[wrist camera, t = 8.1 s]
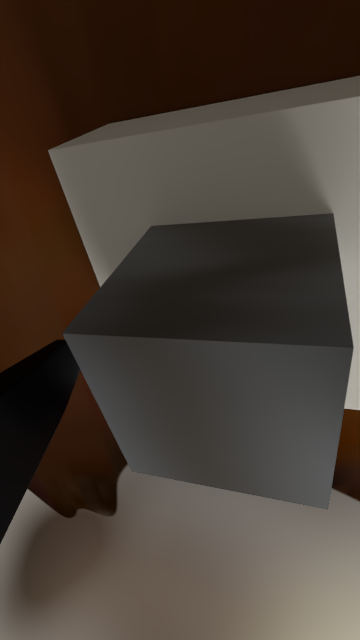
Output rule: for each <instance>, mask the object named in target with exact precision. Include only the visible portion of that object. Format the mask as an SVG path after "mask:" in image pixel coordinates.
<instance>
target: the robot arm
mask: <svg viewBox="0 0 360 640" xmlns="http://www.w3.org/2000/svg"><path fill="white" fill-rule="evenodd" d="M79 372H80V368H79V366H78V364H77V362H76V360H75V358H74V356H73V354H72V352H71V350H70V348H69V346H68V344H67V342H66V340H56V341H54V342H52V343H50V344H49V345H47V346H45V347H44V348H42V349H40V350H38V351H37V352H35V353H33V354H32V355H30V356H28V357H27V358H25V359H23V360H21V361H20V362H18V363H16V364H15V365H13V366H11V367H9V368H8V369H6V370H4V371H3V372H1V373H0V544H1V541H2V539H3V537H4V535H5V533H6V531H7V529H8V527H9V525H10V523H11V521H12V519H13V517H14V515H15V513H16V511H17V509H18V506H19V504H20V502H21V500H22V498H23V496H24V494H25V492H26V490H27V488H28V486H29V484H30V482H31V480H32V478H33V476H34V474H35V472H36V470H37V467H38V465H39V463H40V461H41V459H42V457H43V455H44V453H45V451H46V449H47V447H48V445H49V443H50V441H51V439H52V437H53V435H54V433H55V431H56V428H57V426H58V424H59V422H60V420H61V418H62V416H63V414H64V411H65V409H66V406H67V404H68V401H69V398H70V396H71V393H72V390H73V388H74V385H75V382H76V380H77V377H78V374H79Z"/></svg>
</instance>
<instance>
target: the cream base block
mask: <svg viewBox="0 0 360 640" xmlns="http://www.w3.org/2000/svg"><path fill="white" fill-rule="evenodd" d="M48 152H49V155H50V157H51V160H52V162H53V165H54V168H55V170H56V173H57V175H58V178H59V181H60V183H61V186H62V188H63V191H64V194H65V196H66V199H67V202H68V204H69V207H70V209H71V212H72V215H73V217H74V220H75V222H76V225H77V228H78V230H79V233H80V235H81V238H82V241H83V243H84V246H85V248H86V251H87V254H88V256H89V259H90V262H91V264H92V267H93V269H94V272H95V275H96V277H97V280H98V282H99V285H100V287H101V286H102V285H103V284H104V282H105V281H106V280H107V279H108V278H109V276H110V275H111V274H112V273H113V271H114V270H115V269H116V268H117V267H118V265H119V264H120V263H121V262H122V261H123V259H124V258H125V257H126V256H127V255H128V253H129V252H130V251H131V250H132V248H133V247H134V246H135V245H136V244H137V242H138V241H139V240H140V239H141V238H142V236H143V235H144V234H145V233H146V232H147V230H148V229H149V228H150V227H151V226H158V225H172V224H186V223H201V222H215V221H230V220H244V219H258V218H273V217H287V216H301V215H316V214H330V213H333V214H334V220H335V227H336V233H337V240H338V247H339V253H340V260H341V267H342V273H343V280H344V287H345V293H346V300H347V306H348V313H349V320H350V326H351V333H352V340H353V346H354V349H353V356H352V362H351V368H350V374H349V381H348V387H347V393H346V399H345V406H344V408H345V409H355V410H360V76H356V77H350V78H345V79H340V80H335V81H329V82H324V83H319V84H314V85H309V86H303V87H298V88H293V89H288V90H282V91H277V92H272V93H267V94H262V95H256V96H251V97H246V98H241V99H235V100H230V101H225V102H220V103H215V104H209V105H204V106H199V107H194V108H188V109H183V110H178V111H173V112H168V113H162V114H157V115H152V116H147V117H141V118H136V119H131V120H126V121H121V122H115V123H110V124H107V125H105V126H103V127H100V128H98V129H96V130H93V131H91V132H89V133H86V134H84V135H82V136H80V137H77V138H75V139H73V140H70V141H68V142H66V143H64V144H61V145H59V146H57V147H54V148H52V149H50V150H48Z"/></svg>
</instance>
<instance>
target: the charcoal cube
mask: <svg viewBox="0 0 360 640" xmlns="http://www.w3.org/2000/svg"><path fill="white" fill-rule="evenodd" d="M62 334H63V336H64V338H65V340H66V342H67V344H68V346H69V348H70V350H71V352H72V354H73V356H74V358H75V360H76V362H77V364H78V366H79V368H80V370H81V372H82V374H83V375H84V377H85V379H86V381H87V383H88V385H89V387H90V389H91V391H92V393H93V395H94V397H95V399H96V401H97V403H98V405H99V407H100V409H101V411H102V413H103V415H104V417H105V419H106V421H107V423H108V425H109V427H110V429H111V431H112V433H113V435H114V437H115V439H116V441H117V443H118V445H119V447H120V449H121V451H122V453H123V455H124V457H125V459H126V461H127V463H128V465H129V467H130V468H131V470H132V471H133V472H138V473H143V474H149V475H154V476H159V477H164V478H169V479H174V480H179V481H185V482H189V483H195V484H200V485H205V486H210V487H215V488H220V489H225V490H231V491H236V492H241V493H246V494H251V495H257V496H261V497H267V498H272V499H277V500H282V501H287V502H292V503H297V504H303V505H308V506H313V507H318V508H323V509H328V505H329V499H330V493H331V487H332V481H333V474H334V468H335V462H336V456H337V449H338V443H339V437H340V431H341V424H342V418H343V412H344V406H345V399H346V393H347V387H348V381H349V374H350V368H351V362H352V356H353V349H354V346H353V340H352V333H351V326H350V320H349V313H348V306H347V300H346V293H345V287H344V280H343V273H342V267H341V260H340V253H339V247H338V240H337V233H336V227H335V220H334V214H333V213H330V214H316V215H301V216H287V217H273V218H258V219H244V220H230V221H215V222H201V223H186V224H172V225H158V226H151V227H150V228H149V229H148V230H147V232H146V233H145V234H144V235H143V236H142V238H141V239H140V240H139V241H138V242H137V244H136V245H135V246H134V247H133V248H132V250H131V251H130V252H129V253H128V255H127V256H126V257H125V258H124V259H123V261H122V262H121V263H120V264H119V265H118V267H117V268H116V269H115V270H114V271H113V273H112V274H111V275H110V276H109V278H108V279H107V280H106V281H105V282H104V284H103V285H102V286H101V287H100V288H99V290H98V291H97V292H96V293H95V295H94V296H93V297H92V298H91V299H90V301H89V302H88V303H87V304H86V305H85V307H84V308H83V309H82V310H81V311H80V313H79V314H78V315H77V316H76V318H75V319H74V320H73V321H72V322H71V324H70V325H69V326H68V327H67V328H66V330H65V331H64V332H63V333H62Z"/></svg>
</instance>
